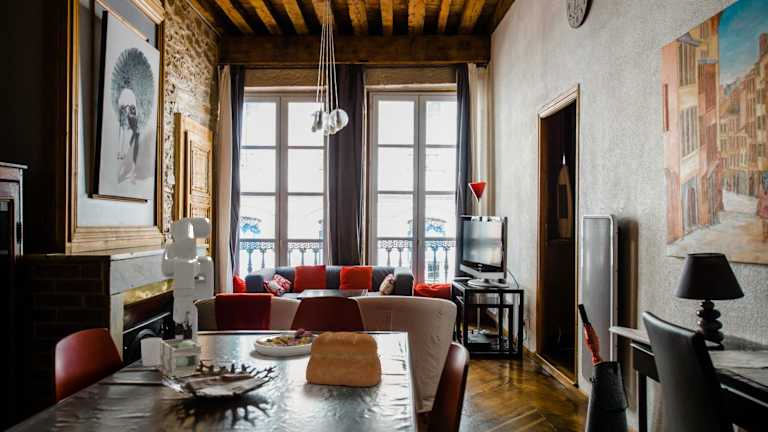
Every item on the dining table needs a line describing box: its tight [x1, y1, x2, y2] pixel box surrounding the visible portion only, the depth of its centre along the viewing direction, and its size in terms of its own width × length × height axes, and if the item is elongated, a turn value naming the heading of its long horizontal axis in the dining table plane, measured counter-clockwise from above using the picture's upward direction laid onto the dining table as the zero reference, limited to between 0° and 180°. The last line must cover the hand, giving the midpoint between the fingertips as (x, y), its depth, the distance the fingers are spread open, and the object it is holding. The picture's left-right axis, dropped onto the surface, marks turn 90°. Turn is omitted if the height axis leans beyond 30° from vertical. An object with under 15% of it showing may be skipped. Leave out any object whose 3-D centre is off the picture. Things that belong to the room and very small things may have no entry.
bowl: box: [253, 328, 318, 358], centre depth 233 cm, size 30×30×8 cm
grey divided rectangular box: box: [155, 338, 202, 377], centre depth 199 cm, size 21×12×10 cm, turn 38°
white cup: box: [140, 337, 163, 367], centre depth 210 cm, size 8×8×10 cm
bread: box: [305, 331, 383, 388], centre depth 185 cm, size 16×26×17 cm, turn 78°
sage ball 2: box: [176, 357, 188, 368], centre depth 194 cm, size 6×6×6 cm
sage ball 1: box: [178, 341, 193, 349], centre depth 197 cm, size 6×6×6 cm
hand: (183, 337), depth 196 cm, fingers open, 9 cm apart
